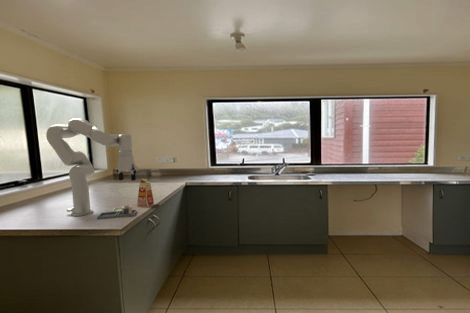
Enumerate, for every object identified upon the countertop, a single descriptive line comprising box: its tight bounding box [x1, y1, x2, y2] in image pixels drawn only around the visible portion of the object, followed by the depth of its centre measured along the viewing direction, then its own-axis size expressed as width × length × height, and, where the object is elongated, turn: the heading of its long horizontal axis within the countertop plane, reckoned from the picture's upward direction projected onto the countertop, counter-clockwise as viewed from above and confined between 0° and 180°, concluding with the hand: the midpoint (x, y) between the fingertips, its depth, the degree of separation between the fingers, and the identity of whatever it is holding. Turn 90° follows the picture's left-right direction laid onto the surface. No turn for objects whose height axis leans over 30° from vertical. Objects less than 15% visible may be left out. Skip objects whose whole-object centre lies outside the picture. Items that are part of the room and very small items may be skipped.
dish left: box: [96, 211, 119, 220], centre depth 168 cm, size 10×10×2 cm
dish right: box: [116, 209, 138, 218], centre depth 170 cm, size 10×10×2 cm
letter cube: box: [121, 204, 133, 215], centre depth 170 cm, size 5×5×5 cm
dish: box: [110, 206, 123, 212], centre depth 180 cm, size 10×10×2 cm
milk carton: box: [136, 178, 155, 208], centre depth 192 cm, size 9×9×20 cm
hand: (127, 180), depth 175 cm, fingers open, 9 cm apart
